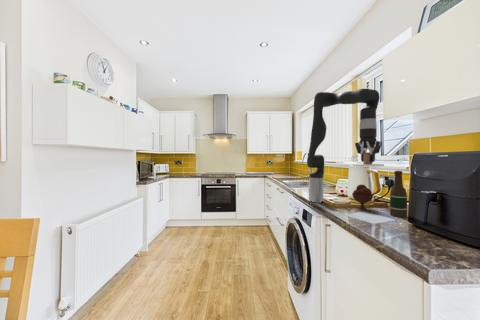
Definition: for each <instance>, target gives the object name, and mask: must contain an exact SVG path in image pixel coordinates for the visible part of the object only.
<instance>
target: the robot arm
mask: <svg viewBox="0 0 480 320" xmlns="http://www.w3.org/2000/svg"><path fill="white" fill-rule="evenodd" d="M379 103H380V93H379V91H378V90H376V89H371V88H359V89H357V90H350V91H349V90H348V91H343V92H338V93H336V92H329V91H320V92H317V93H316V94H315V95H314V100H313V116H312V127H311V132H310V143H309V149H308V153H307V158H306V159H307V160H306V165H307V167H308V168H310V169H315V168H316V170H314V171H313V172H310V173H309V187H308V201H309V200H310V201H312V202H311V203H313V202H316V203H315V204H320V203H321V202H322V201H323V202H324V175H325V174H324V172H325V157H324V155H322V154H316V152H317V149H318V148H319V147H320V145H321V144H322V143H323V142H324V140H325V138H326V136H327V124H326V122H325V119H324V115H323V110H324V108H329V107H331V106H335V105H355V104H365V107H363V108H362V109H360V111H359V112H360V113H359V115H360V117H359V118H360V119H359V139H360V140H359V141H358V142H355V143H354V146H355V148H356V153H357V154H360V161H361V162H362V163H363V153H367V152H368V151H369V152H370V154H371V155H370V162H372V163H374V162H375V160H376V154H379V153H380V150H381V147H382V144H383V141H379V140H377V110H378V106H379ZM310 201H309V202H310ZM321 204H322V203H321Z"/></svg>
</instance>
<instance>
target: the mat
mask: <svg viewBox="0 0 480 320" xmlns="http://www.w3.org/2000/svg"><path fill="white" fill-rule="evenodd" d="M342 215H343V216H346V217H348V218H352V219H356V220H360V221H362V222H366V223H370V224H373V225H374V224H382V223H389V222H394V221H396V218H395V219H394V218H391V217H387V216H383V215H378V214H374V213H372V212H367V211H359V212H352V213H345V214H344V213H343V214H342Z"/></svg>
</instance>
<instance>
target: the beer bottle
mask: <svg viewBox="0 0 480 320" xmlns="http://www.w3.org/2000/svg"><path fill="white" fill-rule="evenodd" d="M393 173H394V179H393V180H394V181H393V186H392V188H391V189H390V192H389V215H390V216H391V217H395V218H401V219H403V218H407V217H408V193H407V190H406V188H405V187H404V184H403V171H402V170H395V171H394V172H393Z"/></svg>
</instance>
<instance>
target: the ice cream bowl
mask: <svg viewBox="0 0 480 320" xmlns="http://www.w3.org/2000/svg"><path fill="white" fill-rule="evenodd" d="M373 196H374V194H372V191H371V189H370V188H369V187H367V186H366V185H365V184H363V183H362V184H358V185H357V186H356V188H355V189H354V190H353V192H352V198H353V199H354V200H355V201H356V202H357V203H359V204H360V206H359V207H357V210H360V211H368V209H367V208H366V207H365V204H367V203H369V202H371V200H372V199H373Z"/></svg>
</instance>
